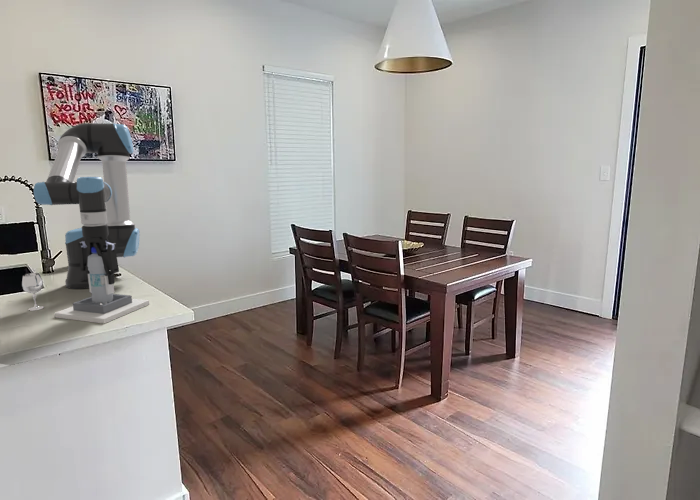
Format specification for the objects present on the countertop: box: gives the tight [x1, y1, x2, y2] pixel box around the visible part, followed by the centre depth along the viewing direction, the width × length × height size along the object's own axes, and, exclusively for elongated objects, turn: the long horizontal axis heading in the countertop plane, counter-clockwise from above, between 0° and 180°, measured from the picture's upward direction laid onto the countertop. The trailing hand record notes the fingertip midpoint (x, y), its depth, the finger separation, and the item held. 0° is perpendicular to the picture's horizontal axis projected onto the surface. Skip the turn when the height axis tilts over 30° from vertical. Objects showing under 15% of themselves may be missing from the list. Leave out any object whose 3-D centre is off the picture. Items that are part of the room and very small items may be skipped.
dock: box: [53, 293, 150, 324], centre depth 153 cm, size 20×20×4 cm
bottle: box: [87, 247, 114, 305], centre depth 151 cm, size 7×7×20 cm
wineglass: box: [21, 272, 45, 312], centre depth 154 cm, size 6×6×12 cm
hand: (102, 292), depth 152 cm, fingers closed on bottle, 6 cm apart
